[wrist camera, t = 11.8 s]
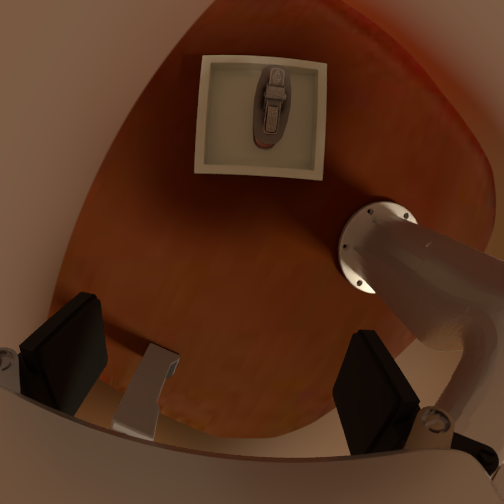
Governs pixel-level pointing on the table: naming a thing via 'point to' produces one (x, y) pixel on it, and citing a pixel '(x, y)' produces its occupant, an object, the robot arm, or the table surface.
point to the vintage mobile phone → (145, 394)
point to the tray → (241, 119)
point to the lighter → (271, 106)
